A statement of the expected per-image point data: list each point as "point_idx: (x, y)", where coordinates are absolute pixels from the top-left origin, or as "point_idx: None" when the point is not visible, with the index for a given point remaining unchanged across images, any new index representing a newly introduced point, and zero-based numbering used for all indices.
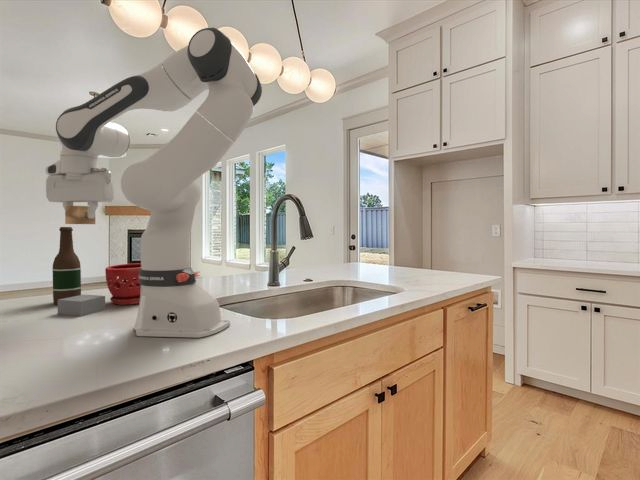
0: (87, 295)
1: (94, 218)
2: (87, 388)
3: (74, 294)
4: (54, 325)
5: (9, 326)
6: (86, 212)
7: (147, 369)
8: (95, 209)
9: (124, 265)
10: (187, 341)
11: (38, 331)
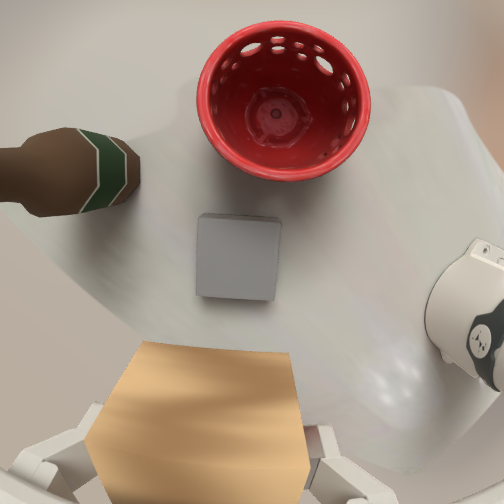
0: (222, 227)
1: (292, 387)
2: (445, 449)
3: (132, 179)
4: None
5: None
6: None
7: (475, 415)
8: (363, 475)
9: (224, 54)
10: None
11: None
